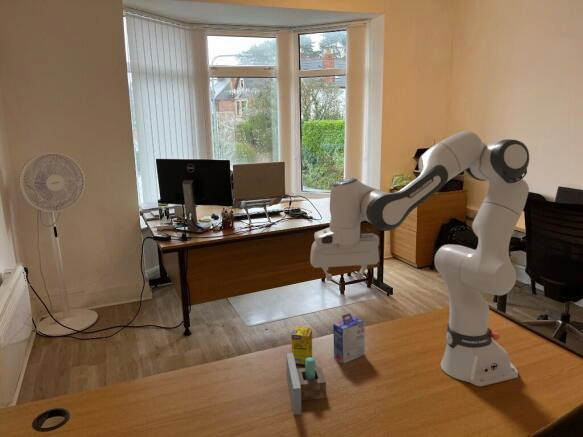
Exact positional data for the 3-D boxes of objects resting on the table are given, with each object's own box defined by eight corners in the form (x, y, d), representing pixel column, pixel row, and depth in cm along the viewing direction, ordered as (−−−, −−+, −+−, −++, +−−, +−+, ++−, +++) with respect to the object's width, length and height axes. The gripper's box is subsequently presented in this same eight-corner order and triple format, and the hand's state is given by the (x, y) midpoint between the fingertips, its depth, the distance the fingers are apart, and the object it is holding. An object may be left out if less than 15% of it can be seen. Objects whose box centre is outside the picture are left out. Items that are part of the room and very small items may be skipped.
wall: (293, 376, 134) (292, 352, 133) (301, 414, 117) (300, 388, 115) (286, 376, 134) (286, 353, 132) (293, 414, 117) (293, 388, 115)
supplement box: (309, 367, 139) (309, 336, 137) (291, 365, 140) (290, 334, 138) (312, 357, 145) (312, 327, 142) (295, 355, 146) (294, 326, 144)
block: (320, 381, 131) (320, 366, 130) (326, 397, 124) (326, 382, 123) (294, 383, 131) (294, 368, 129) (298, 400, 123) (298, 384, 122)
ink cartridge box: (354, 348, 150) (355, 309, 147) (365, 354, 146) (366, 315, 143) (332, 357, 145) (332, 317, 142) (343, 364, 140) (343, 323, 137)
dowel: (314, 384, 128) (314, 357, 126) (315, 390, 126) (315, 362, 124) (304, 385, 128) (304, 357, 126) (306, 390, 125) (306, 362, 123)
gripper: (376, 230, 130) (375, 273, 133) (309, 233, 128) (309, 277, 131) (382, 235, 124) (381, 280, 127) (312, 239, 122) (312, 285, 125)
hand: (344, 279), depth 129 cm, fingers open, 8 cm apart
